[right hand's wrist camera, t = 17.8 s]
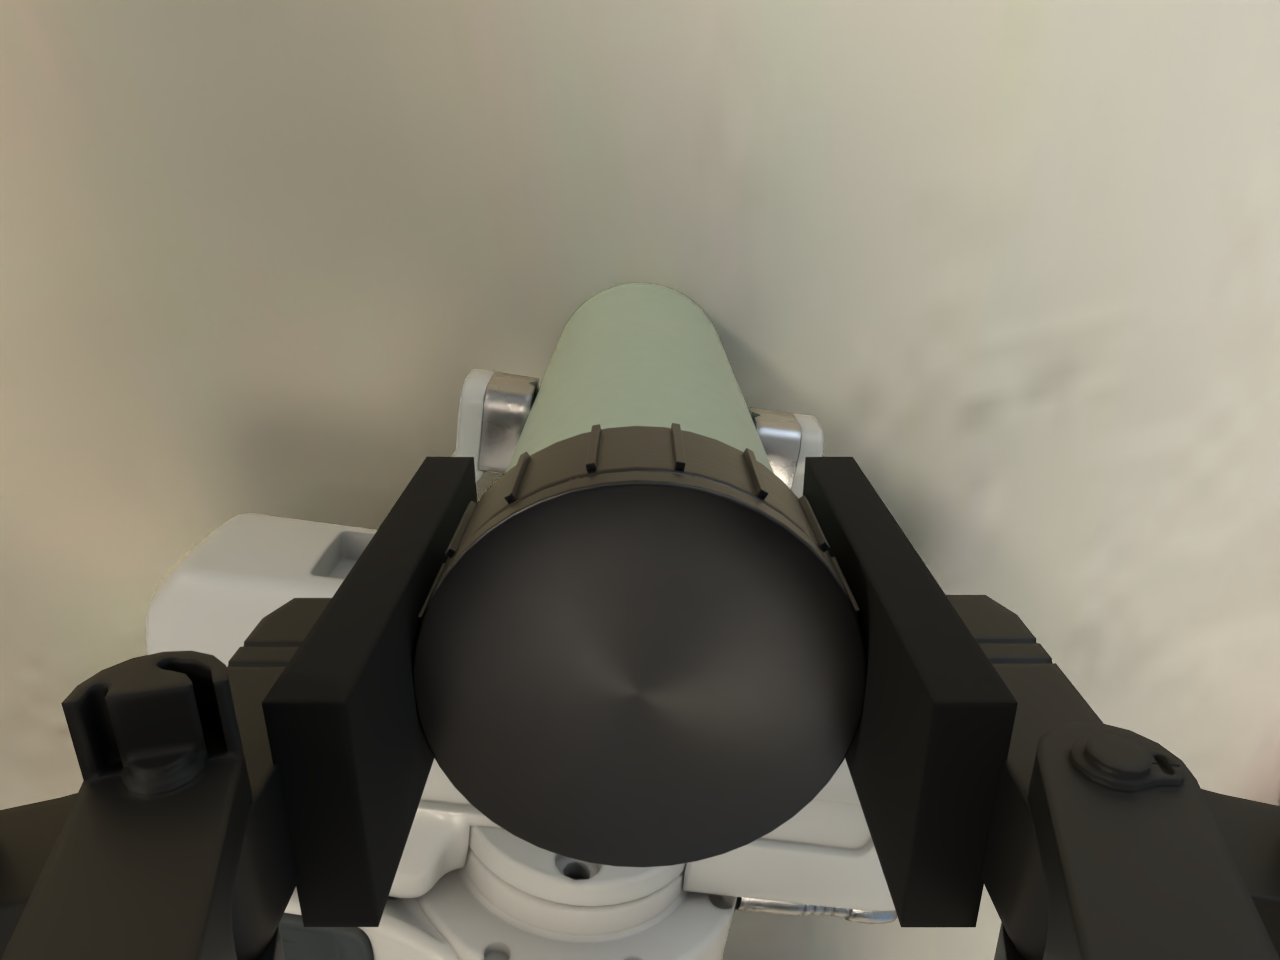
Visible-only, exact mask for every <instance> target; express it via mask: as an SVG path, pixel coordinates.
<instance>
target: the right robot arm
mask: <svg viewBox="0 0 1280 960" xmlns="http://www.w3.org/2000/svg"><path fill="white" fill-rule="evenodd" d="M803 495H804V496H805V497H806V499H807V500H808V502H809V504H810V506H811V508H812V510H813V512H814V514H815V517H816V519H817V521H818V523H819V525H820V527H821V529H822V532H823V534H824V536H825V538H826V540H827V542H828V544H829V546H830V549H828V551H829V554H830V556H831V558H832V557H836V559H837V561H838V564H839V566H840V568H841V570H842V572H843V574H844V576H845V578H846V581H847V583H848V585H849V587H850V589H851V591H852V593H853V595H854V598H855V600H856V602H857V604H858V606H859V608H860V611H861V617H859V618H858V619H859V622H860V625H861V629H862V632H863V635H864V640H865V647H866V654H867V661H868V666H867V679H866V689H865V698H864V706H863V715H862V718H861V721H860V724H859V727H858V730H857V733H856V736H855V739H854V741H853V743H852V745H851V747H850V749H849V751H848V753H847V755H846V757H845V759H846V762H847V765H848V768H849V771H850V774H851V777H852V780H853V783H854V786H855V789H856V792H857V795H858V798H859V801H860V804H861V808H862V811H863V814H864V817H865V820H866V823H867V826H868V829H869V832H870V835H871V838H872V841H873V844H874V847H875V850H876V853H877V856H878V859H879V862H880V865H881V868H882V871H883V874H884V877H885V880H886V883H887V886H888V889H889V892H890V895H891V898H892V901H893V904H894V907H895V910H896V913H897V916H898V919H899V922H900V925H901V927H976V922H977V917H978V912H979V906H980V901H981V896H982V890H983V885H984V884H985V887H986V889H987V891H988V893H989V895H990V897H991V899H992V902H993V904H994V906H995V908H996V910H997V912H998V915H999V917H1000V919H1001V921H1002V923H1001V928H1000V933H999V938H998V943H997V948H996V953H995V958H994V960H1280V806H1275V805H1270V804H1266V803H1261V802H1256V801H1251V800H1246V799H1242V798H1237V797H1232V796H1227V795H1222V794H1218V793H1214V792H1211V791H1207V790H1203V789H1200V786H1199V784H1198V782H1197V780H1196V779H1195V777H1194V776H1193V775H1192V773H1191V772H1190V771H1189V769H1188V768H1187V767H1186V765H1185V764H1184V763H1183V761H1182V760H1180V759H1179V758H1178V757H1176V756H1175V755H1173V754H1172V753H1171V752H1169V751H1168V750H1167V749H1165V748H1164V747H1162V746H1161V745H1160V744H1158V743H1156V742H1154V741H1152V740H1150V739H1147V738H1145V737H1143V736H1141V735H1139V734H1136V733H1134V732H1132V731H1130V730H1126V729H1122V728H1118V727H1114V726H1110V725H1106V724H1103V722H1102V721H1101V720H1100V719H1099V717H1098V716H1097V715H1096V714H1095V712H1094V711H1093V710H1092V709H1091V707H1090V706H1089V705H1088V703H1087V702H1086V701H1085V700H1084V698H1083V697H1082V696H1081V695H1080V693H1079V692H1078V691H1077V690H1076V688H1075V687H1074V686H1073V685H1072V683H1071V682H1070V681H1069V680H1068V678H1067V677H1066V676H1065V675H1064V673H1063V672H1062V671H1061V670H1060V668H1059V667H1058V666H1057V664H1052V658H1051V657H1050V656H1049V654H1048V653H1047V652H1046V651H1045V649H1044V648H1043V647H1042V646H1041V644H1037V643H1036V638H1035V637H1034V636H1033V634H1032V633H1031V632H1030V631H1029V629H1028V628H1027V627H1026V626H1025V624H1024V623H1023V622H1022V620H1021V619H1020V618H1019V617H1018V615H1016V614H1015V613H1013V612H1011V611H1010V610H1008V609H1007V608H1005V607H1004V606H1002V605H1000V604H999V603H997V602H996V601H994V600H992V599H991V598H989V597H988V596H986V595H945V594H944V592H943V591H942V589H941V588H940V586H939V585H938V583H937V582H936V580H935V579H934V577H933V576H932V574H931V573H930V571H929V570H928V568H927V567H926V565H925V564H924V562H923V561H922V559H921V558H920V556H919V555H918V553H917V552H916V551H915V549H914V548H913V546H912V545H911V543H910V542H909V540H908V539H907V537H906V536H905V534H904V533H903V531H902V530H901V528H900V527H899V525H898V524H897V522H896V521H895V519H894V518H893V516H892V515H891V513H890V512H889V510H888V509H887V507H886V506H885V504H884V503H883V501H882V500H881V498H880V497H879V495H878V494H877V492H876V491H875V490H874V488H873V487H872V485H871V484H870V482H869V481H868V479H867V478H866V476H865V475H864V473H863V472H862V470H861V469H860V467H859V466H858V464H857V463H856V461H855V460H854V458H853V457H805V471H804V484H803ZM471 501H473V502H475V503H476V504H477V492H476V478H475V465H474V457H426V459H425V460H424V462H423V463H422V465H421V466H420V468H419V469H418V471H417V472H416V474H415V475H414V477H413V478H412V480H411V481H410V483H409V484H408V486H407V487H406V489H405V490H404V492H403V493H402V495H401V496H400V498H399V499H398V501H397V502H396V504H395V505H394V506H393V508H392V509H391V511H390V512H389V514H388V515H387V517H386V518H385V520H384V521H383V523H382V524H381V526H380V527H379V529H378V530H377V532H376V533H375V535H374V536H373V538H372V539H371V541H370V542H369V544H368V545H367V547H366V548H365V550H364V551H363V553H362V554H361V556H360V557H359V559H358V560H357V562H356V563H355V564H354V566H353V567H352V569H351V570H350V572H349V573H348V575H347V576H346V578H345V579H344V581H343V582H342V584H341V585H340V587H339V588H338V590H337V591H336V593H335V594H334V596H333V597H332V598H293V599H292V600H290V601H289V602H287V603H286V604H284V605H282V606H281V607H279V608H278V609H276V610H275V611H273V612H271V613H270V614H268V615H267V616H265V617H264V618H262V620H261V621H260V622H259V623H258V625H257V626H256V627H255V628H254V630H253V631H252V632H251V633H250V635H249V636H248V637H247V639H246V640H245V641H244V646H243V647H239V649H238V650H237V651H236V652H235V654H234V655H233V656H232V658H231V659H230V660H229V661H228V667H226V665H225V664H224V663H223V662H221V661H220V660H219V659H217V658H216V657H215V656H214V655H210V654H205V653H201V652H196V651H167V652H159V653H155V654H150V655H146V656H141V657H137V658H132V659H130V660H127V661H125V662H122V663H120V664H117V665H114V666H112V667H109V668H107V669H104V670H102V671H100V672H99V673H97V674H96V675H94V676H92V677H91V678H89V679H88V680H86V681H84V682H83V683H81V684H80V685H78V686H77V687H76V688H75V689H74V690H73V691H72V692H71V694H70V695H69V696H68V697H67V698H66V699H65V700H64V701H63V702H62V707H63V710H64V714H65V717H66V721H67V724H68V727H69V731H70V734H71V738H72V741H73V745H74V748H75V752H76V755H77V759H78V762H79V766H80V769H81V772H82V776H83V779H84V782H83V784H82V786H81V788H80V790H79V792H78V793H76V794H72V795H69V796H65V797H61V798H57V799H52V800H47V801H43V802H38V803H33V804H28V805H23V806H19V807H14V808H9V809H4V810H0V960H285V958H284V951H283V943H282V938H281V933H280V928H279V922H280V920H281V918H282V916H283V914H284V911H285V909H286V907H287V905H288V903H289V901H290V898H291V896H292V894H293V892H294V890H295V888H297V893H298V899H299V904H300V909H301V915H302V920H303V925H304V927H378V926H379V923H380V920H381V917H382V914H383V911H384V908H385V905H386V902H387V899H388V896H389V893H390V890H391V887H392V884H393V881H394V878H395V875H396V872H397V869H398V866H399V863H400V860H401V857H402V854H403V851H404V848H405V845H406V842H407V839H408V836H409V833H410V830H411V827H412V824H413V821H414V818H415V815H416V812H417V809H418V806H419V803H420V800H421V797H422V794H423V791H424V788H425V785H426V782H427V779H428V776H429V773H430V770H431V767H432V764H433V761H434V756H433V754H432V752H431V750H430V749H429V747H428V745H427V742H426V740H425V737H424V734H423V732H422V729H421V726H420V724H419V721H418V717H417V711H416V704H415V695H414V686H413V676H412V659H413V649H414V642H415V638H416V635H417V631H418V627H419V623H418V615H419V613H420V611H421V609H422V607H423V604H424V602H425V600H426V598H427V596H428V594H429V591H430V589H431V587H432V585H433V583H434V581H435V579H436V576H437V574H438V572H439V570H440V568H441V566H442V564H443V563H446V561H447V559H448V557H449V556H447V555H446V554H445V553H446V551H447V549H448V546H449V544H450V542H451V540H452V538H453V536H454V534H455V532H456V529H457V527H458V525H459V523H460V521H461V519H462V517H463V515H464V512H465V510H466V508H467V506H468V505H469V503H470V502H471Z"/></svg>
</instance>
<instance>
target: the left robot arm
mask: <svg viewBox="0 0 1280 960" xmlns="http://www.w3.org/2000/svg"><path fill="white" fill-rule="evenodd" d="M538 391H539V379H538V378H533V377H527V376H520V375H514V374H507V373H501V372H495V371H492V370H482V369H472V370H471V372H470V373H469V375H468V376H467V377H466V379H465V380H464V383H463V387H462V392H461V397H460V402H459V412H458V426H457V440H456V451H455V452H454V454H453V455H452V456H451V457H474V465H475V478H476V483H477V481H478V480H479V479H480V477H481V476H482V475H483V473H484V472H485V470H486V471H496V472H505V473H506V470H507V468H508V465H509V463H510V460H511V458H512V456H513V453H514V451H515V448H516V446H517V443H518V441H519V438H520V436H521V433H522V431H523V428H524V426H525V423H526V421H527V418H528V416H529V413H530V411H531V408H532V406H533V403H534V401H535V398H536V396H537V394H538ZM749 413H750V415H751V418H752V420H753V422H754V425H755V427H756V430H757V432H758V435H759V437H760V440H761V442H762V445H763V447H764V450H765V452H766V455H767V457H768V459H769V462H770V464H771V467H772V469H773V472H774V474H775V475H776V476H777V477H779V478H780V479H781V480H782V481H783V482H784V483H785V484H786V485H787V486H788V487H789V488H790V489H791V490H792V492H793V493H794V494H795V495H796V496H797V497H798V498H800V497H802V496H803V484H804V471H805V457H822V455H823V451H824V432H823V429H822V428H821V426H820V424H819V423H818V421H817V420H816V418H815V417H814V416H811V415H803V414H796V413H789V412H782V411H774V410H766V409H758V408H750V409H749ZM376 532H377V530H376V529H368V528H361V527H353V526H345V525H338V524H330V523H322V522H314V521H307V520H299V519H291V518H284V517H277V516H270V515H263V514H253V513H245V514H239V515H236V516H234V517H232V518H230V519H228V520H227V521H225V522H224V523H223V524H222V525H220V526H219V527H218V528H217V529H215V530H214V531H213V532H212V533H210V534H209V535H208V536H206V537H205V538H204V539H203V540H201V541H200V542H199V543H198V544H196V545H195V546H194V547H193V548H192V549H191V550H189V551H188V552H187V553H186V554H185V555H184V556H183V557H182V558H181V559H180V560H179V561H178V562H177V563H176V564H175V566H174V567H173V568H172V569H171V570H170V571H169V572H168V573H167V574H166V575H165V577H164V578H163V579H162V581H161V582H160V583H159V585H158V586H157V588H156V589H155V591H154V593H153V595H152V597H151V599H150V602H149V605H148V608H147V614H146V626H145V634H146V654H147V655H150V654H155V653H159V652H167V651H196V652H201V653H205V654H210V655H214V656H215V657H216V658H217V659H219V660H220V661H221V662H223V663H224V664H225V665H226V667H228V661H229V660H230V659H231V658H232V656H233V655H234V654H235V652H236V651H237V650H238V649H239V647H243V646H244V641H245V640H246V639H247V637H248V636H249V635H250V633H251V632H252V631H253V630H254V628H255V627H256V626H257V625H258V623H259V622H260V621H261V620H262V618H264V617H265V616H267V615H268V614H270V613H271V612H273V611H275V610H276V609H278V608H279V607H281V606H282V605H284V604H286V603H287V602H289V601H290V600H292V599H293V598H332V597H333V596H334V594H335V593H336V591H337V590H338V588H339V587H340V585H341V584H342V582H343V581H344V579H345V578H346V576H347V575H348V573H349V572H350V570H351V569H352V567H353V566H354V564H355V563H356V562H357V560H358V559H359V557H360V556H361V554H362V553H363V551H364V550H365V548H366V547H367V545H368V544H369V542H370V541H371V539H372V538H373V536H374V535H375V533H376ZM735 909H737V910H745V911H754V912H763V913H772V914H782V915H810V914H812V915H820V914H821V915H831V916H837V917H844V918H845V919H846V920H848V921H852V922H857V923H865V924H884V923H890V922H893V921H895V919H896V918H897V913H896V910H895V907H894V904H893V901H892V898H891V895H890V892H889V889H888V886H887V883H886V880H885V877H884V874H883V871H882V868H881V865H880V862H879V859H878V856H877V853H876V850H875V847H874V844H873V841H872V838H871V835H870V832H869V829H868V826H867V823H866V820H865V817H864V814H863V811H862V808H861V804H860V801H859V798H858V795H857V792H856V789H855V786H854V783H853V780H852V777H851V774H850V771H849V768H848V765H847V762H846V759H844V761H843V762H842V764H841V765H840V767H839V768H838V770H837V771H836V773H835V774H834V775H833V777H832V778H831V780H830V781H829V782H828V784H827V785H826V786H825V787H824V788H823V789H822V790H821V791H820V793H819V794H818V795H817V796H816V797H815V798H814V799H813V800H812V801H811V802H810V803H809V804H808V805H807V806H805V807H804V808H803V809H802V810H801V811H800V812H799V813H797V814H796V815H795V816H794V817H793V818H791V819H790V820H788V821H787V822H785V823H784V824H782V825H781V826H779V827H778V828H777V829H775V830H774V831H772V832H770V833H769V834H767V835H765V836H763V837H761V838H759V839H757V840H755V841H753V842H751V843H749V844H748V845H745V846H742V847H740V848H737V849H735V850H732V851H730V852H727V853H725V854H722V855H718V856H714V857H711V858H707V859H703V860H700V861H696V862H690V863H684V864H678V865H672V866H658V867H617V866H609V865H602V864H595V863H588V862H584V861H580V860H576V859H572V858H568V857H564V856H561V855H558V854H555V853H553V852H550V851H547V850H544V849H541V848H539V847H536V846H534V845H532V844H530V843H528V842H526V841H524V840H522V839H520V838H518V837H516V836H514V835H512V834H511V833H509V832H508V831H506V830H505V829H503V828H501V827H500V826H498V825H497V824H495V823H493V822H492V821H491V820H490V819H488V818H487V817H486V816H485V815H483V814H482V813H481V812H480V811H478V810H477V809H476V808H475V807H474V806H472V805H471V804H470V803H469V802H468V801H467V800H466V798H465V797H464V796H463V795H462V794H461V793H460V792H459V791H458V790H457V789H456V788H455V787H454V786H453V784H452V783H451V782H450V780H449V779H448V778H447V776H446V775H445V774H444V772H443V771H442V769H441V768H440V767H439V765H438V763H437V761H436V760H435V758H434V761H433V764H432V767H431V770H430V773H429V776H428V779H427V782H426V785H425V788H424V791H423V794H422V797H421V800H420V803H419V806H418V809H417V812H416V815H415V818H414V821H413V824H412V827H411V830H410V833H409V836H408V839H407V842H406V845H405V848H404V851H403V854H402V857H401V860H400V863H399V866H398V869H397V872H396V875H395V878H394V881H393V884H392V887H391V890H390V893H389V896H388V899H387V902H386V905H385V908H384V911H383V914H382V917H381V920H380V923H379V926H378V927H304V925H303V920H302V915H301V909H300V904H299V899H298V893H297V888H295V890H294V892H293V894H292V896H291V898H290V901H289V903H288V905H287V907H286V909H285V911H284V914H283V916H282V918H281V920H280V922H279V928H280V933H281V938H282V943H283V951H284V958H285V960H722V958H723V953H724V949H725V945H726V942H727V938H728V934H729V930H730V925H731V921H732V917H733V913H734V911H735Z"/></svg>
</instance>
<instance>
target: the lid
mask: <svg viewBox="0 0 1280 960" xmlns="http://www.w3.org/2000/svg"><path fill="white" fill-rule="evenodd" d="M828 549H830V546H829V544H828V542H827V540H826V538H825V536H824V534H823V532H822V529H821V527H820V525H819V523H818V521H817V519H816V517H815V514H814V512H813V510H812V508H811V506H810V504H809V502H808V500H807V499H806V497H805V496H804V495H803V496H802V497H800V498H798V497H797V496H796V495H795V494H794V493H793V492H792V490H791V489H790V488H789V487H788V486H787V485H786V484H785V483H784V482H783V481H782V480H781V479H780V478H779V477H777V476H776V475H775V474H774V473H773V472H771V471H770V470H769V469H768V468H767V467H765V466H764V465H763V464H761V463H760V462H758V461H757V460H756V458H755V455H754V452H753V451H752V450H750V449H748V448H746V449H745V451H744V452H742V451H740V450H738V449H736V448H734V447H732V446H729V445H727V444H725V443H723V442H721V441H718V440H716V439H713V438H709V437H706V436H703V435H700V434H696V433H693V432H689V431H683V430H681V427H680V424H676V423H672V425H671V428H666V427H651V426H627V427H615V428H606V429H601V426H600V424H598V425H593V426H592V429H591V432H587V433H582V434H579V435H576V436H573V437H570V438H567V439H564V440H562V441H559V442H556V443H554V444H552V445H550V446H548V447H546V448H544V449H542V450H540V451H538V452H536V453H534V454H532V455H529V454H528V453H527V452H525V453H523V454H521V455H520V457H519V460H518V462H517V465H516V466H514V467H513V468H511V469H510V470H509V471H508V472H507V473H505V474H504V475H503V476H502V477H501V478H500V479H499V480H498V481H496V482H495V483H494V484H493V485H492V486H491V487H490V488H489V490H488V491H487V492H486V493H485V494H484V495H483V497H482V498H481V499H480V500H479V501H478V503H477V504H476V503H475V502H473V501H471V502H470V503H469V505H468V506H467V508H466V510H465V512H464V515H463V517H462V519H461V521H460V523H459V525H458V527H457V529H456V532H455V534H454V536H453V538H452V540H451V542H450V544H449V546H448V549H447V551H446V553H445V554H446V555H447V556H449V557H448V559H447V561H446V563H443V564H442V566H441V568H440V570H439V572H438V574H437V576H436V579H435V581H434V583H433V585H432V587H431V589H430V591H429V594H428V596H427V598H426V600H425V602H424V604H423V607H422V609H421V611H420V613H419V615H418V623H419V627H418V631H417V635H416V638H415V642H414V649H413V659H412V676H413V686H414V695H415V704H416V711H417V717H418V721H419V724H420V726H421V729H422V732H423V734H424V737H425V740H426V742H427V745H428V747H429V749H430V750H431V752H432V754H433V756H434V758H435V760H436V761H437V763H438V765H439V767H440V768H441V769H442V771H443V772H444V774H445V775H446V776H447V778H448V779H449V780H450V782H451V783H452V784H453V786H454V787H455V788H456V789H457V790H458V791H459V792H460V793H461V794H462V795H463V796H464V797H465V798H466V800H467V801H468V802H469V803H470V804H471V805H472V806H474V807H475V808H476V809H477V810H478V811H480V812H481V813H482V814H483V815H485V816H486V817H487V818H488V819H490V820H491V821H492V822H493V823H495V824H497V825H498V826H500V827H501V828H503V829H505V830H506V831H508V832H509V833H511V834H512V835H514V836H516V837H518V838H520V839H522V840H524V841H526V842H528V843H530V844H532V845H534V846H536V847H539V848H541V849H544V850H547V851H550V852H553V853H555V854H558V855H561V856H564V857H568V858H572V859H576V860H580V861H584V862H588V863H595V864H602V865H609V866H617V867H658V866H672V865H678V864H684V863H690V862H696V861H700V860H703V859H707V858H711V857H714V856H718V855H722V854H725V853H727V852H730V851H732V850H735V849H737V848H740V847H742V846H745V845H748V844H749V843H751V842H753V841H755V840H757V839H759V838H761V837H763V836H765V835H767V834H769V833H770V832H772V831H774V830H775V829H777V828H778V827H779V826H781V825H782V824H784V823H785V822H787V821H788V820H790V819H791V818H793V817H794V816H795V815H796V814H797V813H799V812H800V811H801V810H802V809H803V808H804V807H805V806H807V805H808V804H809V803H810V802H811V801H812V800H813V799H814V798H815V797H816V796H817V795H818V794H819V793H820V791H821V790H822V789H823V788H824V787H825V786H826V785H827V784H828V782H829V781H830V780H831V778H832V777H833V775H834V774H835V773H836V771H837V770H838V768H839V767H840V765H841V764H842V762H843V761H844V759H845V757H846V755H847V753H848V751H849V749H850V747H851V745H852V743H853V741H854V739H855V736H856V733H857V730H858V727H859V724H860V721H861V718H862V715H863V706H864V698H865V689H866V679H867V666H868V661H867V654H866V647H865V640H864V635H863V632H862V629H861V625H860V622H859V619H858V618H859V617H861V611H860V608H859V606H858V604H857V602H856V600H855V598H854V595H853V593H852V591H851V589H850V587H849V585H848V583H847V581H846V578H845V576H844V574H843V572H842V570H841V568H840V566H839V564H838V561H837V559H836V557H832V558H831V556H830V554H829V551H828Z"/></svg>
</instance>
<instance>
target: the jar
mask: <svg viewBox="0 0 1280 960" xmlns="http://www.w3.org/2000/svg"><path fill="white" fill-rule="evenodd" d="M672 423H676V424H680V427H681V430H683V431H689V432H693V433H696V434H700V435H703V436H706V437H709V438H713V439H716V440H718V441H721V442H723V443H725V444H727V445H729V446H732V447H734V448H736V449H738V450H740V451H742V452H744V451H745V449H746V448H748V449H750V450H752V451H753V452H754V455H755V458H756V460H757V461H758V462H760V463H761V464H763V465H764V466H765V467H767V468H768V469H769V470H770V471H771V472H773V469H772V467H771V464H770V462H769V459H768V457H767V455H766V452H765V450H764V447H763V445H762V442H761V440H760V437H759V435H758V432H757V430H756V427H755V425H754V422H753V420H752V418H751V415H750V413H749V410H748V408H747V405H746V403H745V400H744V398H743V395H742V393H741V390H740V388H739V385H738V383H737V381H736V378H735V376H734V373H733V371H732V368H731V366H730V363H729V361H728V358H727V356H726V353H725V351H724V348H723V346H722V343H721V341H720V339H719V336H718V334H717V332H716V330H715V328H714V326H713V324H712V322H711V321H710V319H709V318H708V316H707V315H706V314H705V313H704V312H703V311H702V309H701V308H700V307H699V306H697V305H696V304H695V303H694V302H693V301H692V300H690V299H689V298H687V297H686V296H684V295H683V294H681V293H679V292H677V291H675V290H673V289H670V288H667V287H664V286H661V285H655V284H650V283H630V284H623V285H619V286H615V287H612V288H609V289H607V290H604V291H602V292H600V293H598V294H597V295H595V296H593V297H592V298H590V299H589V300H588V301H586V302H585V303H584V304H583V305H582V306H581V307H580V308H579V309H577V311H576V312H575V313H574V314H573V315H572V317H571V318H570V319H569V321H568V323H567V324H566V326H565V328H564V330H563V332H562V334H561V337H560V339H559V341H558V344H557V346H556V349H555V351H554V354H553V356H552V359H551V361H550V364H549V366H548V369H547V371H546V374H545V376H544V379H543V381H542V384H541V386H540V389H539V391H538V394H537V396H536V398H535V401H534V403H533V406H532V408H531V411H530V413H529V416H528V418H527V421H526V423H525V426H524V428H523V431H522V433H521V436H520V438H519V441H518V443H517V446H516V448H515V451H514V453H513V456H512V458H511V460H510V463H509V465H508V468H507V470H506V473H507V472H508V471H509V470H510V469H511V468H513V467H514V466H516V465H517V462H518V460H519V457H520V455H521V454H523V453H525V452H527V453H528V454H529V455H532V454H534V453H536V452H538V451H540V450H542V449H544V448H546V447H548V446H550V445H552V444H554V443H556V442H559V441H562V440H564V439H567V438H570V437H573V436H576V435H579V434H582V433H587V432H591V429H592V426H593V425H598V424H600V426H601V429H606V428H615V427H627V426H651V427H666V428H671V425H672ZM773 473H774V472H773Z"/></svg>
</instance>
